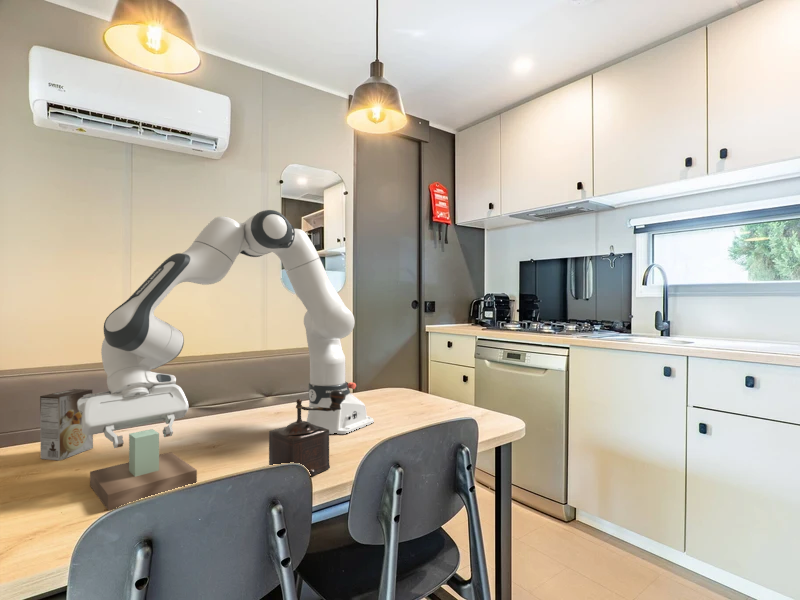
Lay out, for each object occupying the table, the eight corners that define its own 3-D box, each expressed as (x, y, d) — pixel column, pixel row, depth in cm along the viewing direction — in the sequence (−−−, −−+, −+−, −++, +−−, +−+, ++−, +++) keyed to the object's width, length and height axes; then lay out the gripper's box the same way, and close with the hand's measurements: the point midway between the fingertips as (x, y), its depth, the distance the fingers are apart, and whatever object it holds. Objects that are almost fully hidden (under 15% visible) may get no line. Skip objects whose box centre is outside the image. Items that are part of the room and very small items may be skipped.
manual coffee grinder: (294, 484, 89) (293, 400, 89) (267, 470, 97) (267, 393, 97) (349, 463, 100) (349, 389, 101) (321, 452, 108) (321, 384, 108)
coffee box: (74, 446, 113) (74, 388, 113) (93, 448, 112) (94, 389, 112) (38, 459, 104) (39, 395, 104) (59, 461, 103) (60, 396, 103)
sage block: (152, 464, 92) (152, 429, 92) (159, 470, 89) (159, 433, 89) (129, 470, 89) (129, 433, 89) (135, 476, 86) (135, 438, 86)
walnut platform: (171, 464, 100) (171, 452, 100) (196, 483, 89) (196, 469, 89) (90, 485, 89) (90, 471, 89) (108, 510, 78) (108, 494, 78)
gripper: (77, 387, 86) (87, 444, 80) (182, 374, 101) (197, 422, 95) (73, 404, 89) (82, 461, 83) (175, 390, 104) (190, 437, 98)
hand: (144, 440), depth 89 cm, fingers open, 8 cm apart
